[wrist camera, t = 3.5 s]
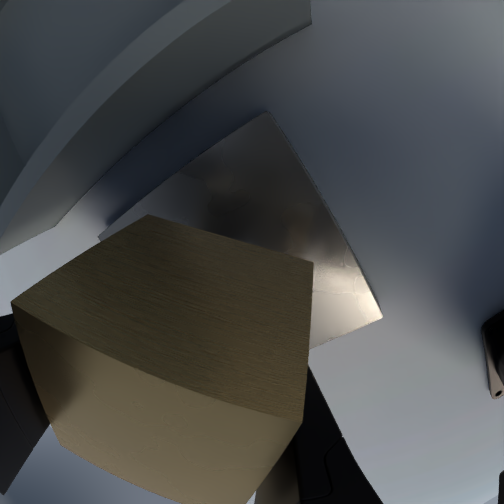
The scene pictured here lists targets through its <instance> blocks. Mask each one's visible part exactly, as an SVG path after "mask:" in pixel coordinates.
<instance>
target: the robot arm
mask: <svg viewBox="0 0 504 504" xmlns="http://www.w3.org/2000/svg"><path fill="white" fill-rule="evenodd" d="M491 328H492V329H491ZM490 329H491V330H490ZM489 330H490V331H489ZM481 332H482V338H483V343H484V350H485V356H486V363H487V371H488V379H489V389H490V394H491V397H492V399H497V398H499V397H501V396H503V395H504V311H502V312H500V313H499V314H497V315H496V316H494V317H492V318H491V319H489V320H488V321H486V322H485V323H484V325H483V326H482V330H481ZM49 425H50V422H49V419H48V417H47V415H46V412H45V410H44V408H43V405H42V403H41V400H40V398H39V395H38V393H37V390H36V387H35V385H34V382H33V379H32V376H31V374H30V371H29V368H28V365H27V362H26V358H25V355H24V352H23V349H22V345H21V342H20V338H19V335H18V331H17V327H16V323H15V319H14V315H13V314H9V315H5V316H1V317H0V493H1V494H2V495H4V494H5V493H6V492H7V490H8V488H9V487H10V485H11V483H12V482H13V480H14V479H15V477H16V475H17V474H18V472H19V470H20V469H21V467H22V466H23V464H24V462H25V461H26V459H27V458H28V457H29V455H30V453H31V452H32V450H33V448H34V447H35V446H36V444H37V442H38V441H39V439H40V438H41V437H42V435H43V434H44V432H45V430H46V429H47V428H48V426H49ZM254 504H383V502H382V501H381V499H380V498H379V496H378V495H377V493H376V492H375V490H374V489H373V487H372V486H371V484H370V483H369V481H368V480H367V478H366V477H365V475H364V474H363V472H362V470H361V469H360V467H359V466H358V464H357V462H356V460H355V459H354V457H353V455H352V453H351V451H350V449H349V447H348V445H347V443H346V441H345V439H344V437H342V433H341V431H340V429H339V427H338V425H337V423H336V421H335V419H334V417H333V415H332V412H331V410H330V408H329V406H328V404H327V402H326V400H325V398H324V396H323V394H322V392H321V390H320V388H319V386H318V384H317V382H316V380H315V377H314V375H313V373H312V371H311V369H310V367H309V365H308V368H307V380H306V391H305V401H304V411H303V420H302V424H301V425H300V427H299V429H298V430H297V432H296V433H295V435H294V436H293V438H292V439H291V441H290V443H289V444H288V446H287V447H286V449H285V450H284V452H283V453H282V455H281V456H280V458H279V459H278V460H277V462H276V463H275V465H274V466H273V468H272V469H271V470H270V472H269V473H268V475H267V476H266V478H265V479H264V480H263V482H262V483H261V484H260V486H259V487H258V488H257V490H256V496H255V503H254ZM498 504H504V470H503V471H502V472H501V473H500V475H499V495H498Z"/></svg>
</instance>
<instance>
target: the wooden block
mask: <svg viewBox="0 0 504 504" xmlns="http://www.w3.org/2000/svg"><path fill="white" fill-rule="evenodd" d="M313 269H314V262H311V261H308V260H304V259H301V258H298V257H294V256H291V255H287V254H284V253H281V252H277V251H274V250H270V249H267V248H264V247H260V246H257V245H253V244H250V243H246V242H243V241H239V240H236V239H233V238H229V237H226V236H222V235H219V234H215V233H212V232H208V231H205V230H201V229H198V228H195V227H191V226H188V225H184V224H181V223H177V222H174V221H170V220H167V219H163V218H160V217H156V216H153V215H149V214H147V215H146V216H144V217H142V218H140V219H138V220H137V221H135V222H133V223H132V224H130V225H128V226H126V227H125V228H123V229H121V230H120V231H118V232H116V233H114V234H113V235H111V236H109V237H108V238H106V239H104V240H103V241H101V242H100V243H98V244H96V245H95V246H93V247H91V248H90V249H88V250H87V251H85V252H83V253H82V254H80V255H79V256H77V257H75V258H74V259H72V260H71V261H69V262H68V263H66V264H65V265H63V266H62V267H60V268H58V269H57V270H55V271H54V272H52V273H51V274H49V275H48V276H46V277H45V278H43V279H42V280H41V281H39V282H38V283H36V284H35V285H33V286H32V287H30V288H29V289H27V290H26V291H25V292H23V293H22V294H20V295H19V296H18V297H16V298H15V299H13V300H12V301H11V307H12V311H13V315H14V319H15V323H16V327H17V331H18V335H19V338H20V342H21V345H22V349H23V352H24V355H25V358H26V362H27V365H28V368H29V371H30V374H31V376H32V379H33V382H34V385H35V387H36V390H37V393H38V395H39V398H40V400H41V403H42V405H43V408H44V410H45V412H46V415H47V417H48V419H49V422H50V424H51V426H52V428H53V430H54V432H55V435H56V437H57V439H58V441H59V443H60V445H61V446H63V447H65V448H66V449H68V450H69V451H71V452H73V453H74V454H76V455H78V456H79V457H81V458H83V459H85V460H87V461H88V462H90V463H92V464H94V465H96V466H97V467H99V468H101V469H103V470H105V471H107V472H109V473H111V474H113V475H115V476H117V477H119V478H121V479H123V480H125V481H127V482H130V483H132V484H134V485H136V486H139V487H141V488H143V489H146V490H148V491H151V492H153V493H156V494H158V495H160V496H163V497H165V498H168V499H171V500H174V501H176V502H179V503H182V504H246V503H247V502H248V500H249V499H250V498H251V496H252V495H253V494H254V492H255V491H256V490H257V488H258V487H259V486H260V484H261V483H262V482H263V480H264V479H265V478H266V476H267V475H268V473H269V472H270V470H271V469H272V468H273V466H274V465H275V463H276V462H277V460H278V459H279V458H280V456H281V455H282V453H283V452H284V450H285V449H286V447H287V446H288V444H289V443H290V441H291V439H292V438H293V436H294V435H295V433H296V432H297V430H298V429H299V427H300V425H301V424H302V420H303V411H304V401H305V391H306V380H307V368H308V356H309V343H310V328H311V311H312V292H313Z"/></svg>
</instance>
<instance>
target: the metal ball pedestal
mask: <svg viewBox="0 0 504 504" xmlns="http://www.w3.org/2000/svg"><path fill="white" fill-rule="evenodd" d="M147 214H149V215H153V216H156V217H160V218H163V219H167V220H170V221H174V222H177V223H181V224H184V225H188V226H191V227H195V228H198V229H201V230H205V231H208V232H212V233H215V234H219V235H222V236H226V237H229V238H233V239H236V240H239V241H243V242H246V243H250V244H253V245H257V246H260V247H264V248H267V249H270V250H274V251H277V252H281V253H284V254H287V255H291V256H294V257H298V258H301V259H304V260H308V261H311V262H314V269H313V292H312V311H311V328H310V343H309V349H311V348H313V347H316V346H318V345H321V344H323V343H326V342H328V341H330V340H333V339H335V338H338V337H340V336H342V335H345V334H347V333H349V332H352V331H354V330H356V329H358V328H361V327H363V326H365V325H367V324H369V323H372V322H374V321H376V320H378V319H380V318H382V317H383V315H382V312H381V308H380V305H379V303H378V301H377V298H376V296H375V294H374V292H373V290H372V288H371V286H370V284H369V282H368V280H367V278H366V276H365V274H364V272H363V270H362V268H361V266H360V264H359V263H358V261H357V259H356V257H355V255H354V253H353V251H352V249H351V247H350V245H349V244H348V242H347V240H346V238H345V236H344V234H343V232H342V231H341V229H340V227H339V225H338V223H337V222H336V220H335V218H334V216H333V214H332V213H331V211H330V209H329V207H328V206H327V204H326V202H325V200H324V199H323V197H322V195H321V194H320V192H319V190H318V188H317V187H316V185H315V183H314V182H313V180H312V178H311V177H310V175H309V173H308V172H307V170H306V168H305V167H304V165H303V163H302V162H301V160H300V159H299V157H298V155H297V154H296V152H295V151H294V149H293V147H292V146H291V144H290V143H289V141H288V140H287V138H286V136H285V135H284V133H283V132H282V130H281V129H280V127H279V126H278V124H277V123H276V121H275V120H274V118H273V117H272V115H271V114H270V113H269V112H267V111H265V112H264V113H262V114H260V115H259V116H257V117H256V118H254V119H253V120H251V121H249V122H248V123H246V124H245V125H243V126H242V127H240V128H239V129H237V130H236V131H234V132H233V133H231V134H230V135H228V136H227V137H225V138H224V139H222V140H221V141H219V142H218V143H216V144H215V145H214V146H212V147H211V148H209V149H208V150H206V151H205V152H204V153H202V154H201V155H199V156H198V157H197V158H195V159H194V160H192V161H191V162H190V163H188V164H187V165H186V166H184V167H183V168H182V169H180V170H179V171H178V172H176V173H175V174H174V175H172V176H171V177H170V178H168V179H167V180H166V181H164V182H163V183H162V184H160V185H159V186H158V187H157V188H155V189H154V190H153V191H151V192H150V193H149V194H148V195H146V196H145V197H144V198H143V199H141V200H140V201H139V202H138V203H137V204H135V205H134V206H133V207H132V208H130V209H129V210H128V211H127V212H126V213H124V214H123V215H122V216H121V217H120V218H118V219H117V220H116V221H115V222H114V223H113V224H111V225H110V226H109V227H108V228H107V229H106V230H105V231H103V232H102V233H101V234H100V235H99V236H98V238H99V239H100V241H103V240H104V239H106V238H108V237H109V236H111V235H113V234H114V233H116V232H118V231H120V230H121V229H123V228H125V227H126V226H128V225H130V224H132V223H133V222H135V221H137V220H138V219H140V218H142V217H144V216H146V215H147Z"/></svg>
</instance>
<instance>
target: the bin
mask: <svg viewBox="0 0 504 504" xmlns="http://www.w3.org/2000/svg"><path fill="white" fill-rule="evenodd" d="M311 24H312V20H311V3H310V0H0V255H1V254H3V253H5V252H7V251H8V250H10V249H12V248H14V247H16V246H18V245H20V244H21V243H23V242H25V241H27V240H29V239H31V238H33V237H35V236H37V235H39V234H41V233H43V232H45V231H47V230H49V229H51V228H53V227H55V226H56V225H57V224H58V223H59V221H60V220H61V219H62V218H63V217H64V216H65V215H66V214H67V212H68V211H69V210H70V209H71V208H72V207H73V206H74V205H75V204H76V203H77V202H78V201H79V200H80V198H81V197H82V196H83V195H84V194H85V193H86V192H87V191H88V190H89V189H90V188H91V187H92V186H93V185H94V184H95V183H96V182H97V181H98V180H99V179H100V178H101V177H102V176H103V175H104V174H105V173H106V172H107V171H108V170H109V169H110V168H111V167H113V166H114V165H115V164H116V163H117V162H118V161H119V160H120V159H121V158H122V157H123V156H124V155H125V154H126V153H128V152H129V151H130V150H131V149H132V148H133V147H134V146H135V145H137V144H138V143H139V142H140V141H141V140H142V139H143V138H145V137H146V136H147V135H148V134H149V133H150V132H152V131H153V130H154V129H155V128H156V127H158V126H159V125H160V124H161V123H162V122H164V121H165V120H166V119H167V118H169V117H170V116H171V115H172V114H174V113H175V112H176V111H177V110H179V109H180V108H181V107H183V106H184V105H185V104H186V103H188V102H189V101H190V100H192V99H193V98H194V97H196V96H197V95H198V94H200V93H201V92H203V91H204V90H205V89H207V88H208V87H210V86H211V85H212V84H214V83H215V82H217V81H218V80H219V79H221V78H222V77H224V76H225V75H227V74H228V73H230V72H231V71H233V70H234V69H236V68H237V67H239V66H240V65H242V64H243V63H245V62H247V61H248V60H250V59H251V58H253V57H255V56H256V55H258V54H259V53H261V52H263V51H264V50H266V49H268V48H269V47H271V46H273V45H274V44H276V43H278V42H280V41H281V40H283V39H285V38H287V37H288V36H290V35H292V34H294V33H296V32H298V31H299V30H301V29H303V28H305V27H307V26H309V25H311Z"/></svg>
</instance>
